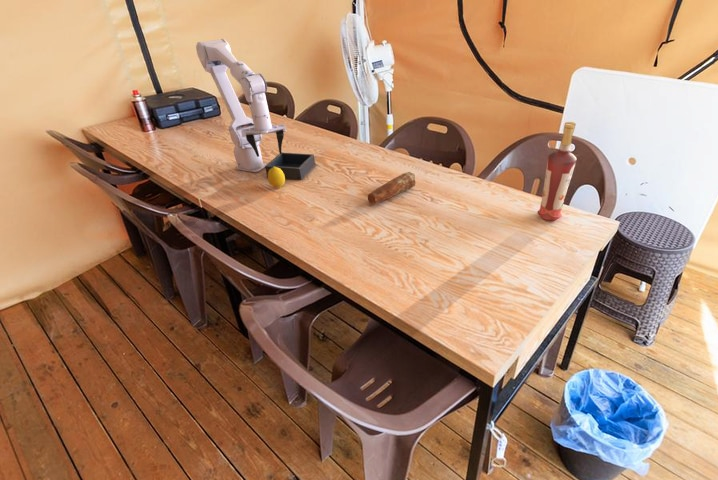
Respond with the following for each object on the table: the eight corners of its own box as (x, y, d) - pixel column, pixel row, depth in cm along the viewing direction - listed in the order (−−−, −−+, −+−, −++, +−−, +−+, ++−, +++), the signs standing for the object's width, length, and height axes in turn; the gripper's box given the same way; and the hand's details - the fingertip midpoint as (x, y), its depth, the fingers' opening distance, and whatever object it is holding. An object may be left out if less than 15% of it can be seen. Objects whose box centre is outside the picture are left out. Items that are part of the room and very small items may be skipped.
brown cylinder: (417, 189, 138) (417, 173, 135) (374, 208, 128) (373, 192, 124) (404, 183, 142) (404, 168, 138) (362, 201, 131) (361, 186, 128)
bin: (267, 177, 148) (264, 166, 146) (283, 163, 159) (281, 152, 156) (301, 180, 146) (299, 168, 143) (315, 165, 156) (313, 154, 154)
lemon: (282, 192, 138) (278, 170, 133) (268, 191, 139) (262, 169, 134) (289, 185, 142) (285, 164, 138) (275, 184, 143) (270, 163, 139)
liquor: (557, 226, 117) (581, 129, 100) (532, 219, 120) (552, 125, 103) (564, 215, 122) (588, 121, 105) (540, 209, 125) (559, 117, 108)
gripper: (237, 120, 129) (248, 161, 137) (283, 115, 132) (291, 155, 140) (237, 114, 134) (247, 153, 142) (281, 109, 137) (289, 148, 145)
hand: (269, 154), depth 141 cm, fingers open, 7 cm apart
